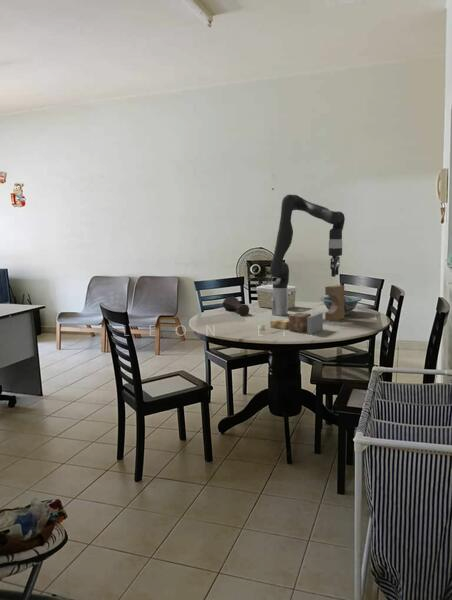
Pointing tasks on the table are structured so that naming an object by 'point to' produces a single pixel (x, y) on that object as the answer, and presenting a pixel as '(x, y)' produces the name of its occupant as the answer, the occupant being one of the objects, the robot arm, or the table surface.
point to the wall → (314, 323)
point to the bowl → (349, 303)
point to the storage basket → (267, 295)
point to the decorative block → (335, 303)
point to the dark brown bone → (235, 305)
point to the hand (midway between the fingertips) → (334, 275)
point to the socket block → (298, 322)
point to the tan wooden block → (279, 324)
